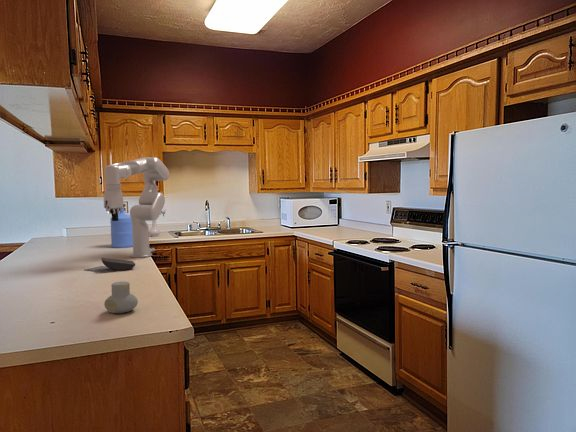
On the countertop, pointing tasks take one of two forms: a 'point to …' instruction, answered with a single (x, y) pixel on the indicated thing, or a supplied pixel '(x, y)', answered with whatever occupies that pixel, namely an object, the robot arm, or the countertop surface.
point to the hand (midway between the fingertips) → (115, 220)
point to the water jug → (121, 231)
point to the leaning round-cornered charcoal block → (118, 264)
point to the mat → (100, 269)
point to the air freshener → (121, 298)
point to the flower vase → (155, 227)
